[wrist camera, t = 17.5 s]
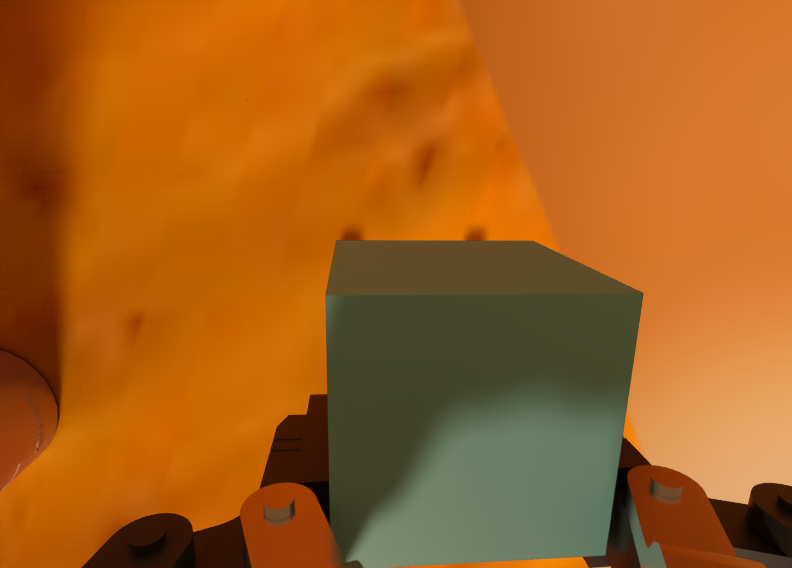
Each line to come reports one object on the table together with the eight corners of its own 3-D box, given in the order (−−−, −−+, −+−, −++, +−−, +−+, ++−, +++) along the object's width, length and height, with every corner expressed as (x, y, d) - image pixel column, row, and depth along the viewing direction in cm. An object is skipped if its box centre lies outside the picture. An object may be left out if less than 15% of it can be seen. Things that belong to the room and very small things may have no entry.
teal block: (338, 422, 14) (330, 571, 9) (336, 240, 12) (325, 295, 7) (517, 416, 14) (604, 555, 9) (532, 240, 13) (643, 293, 8)
